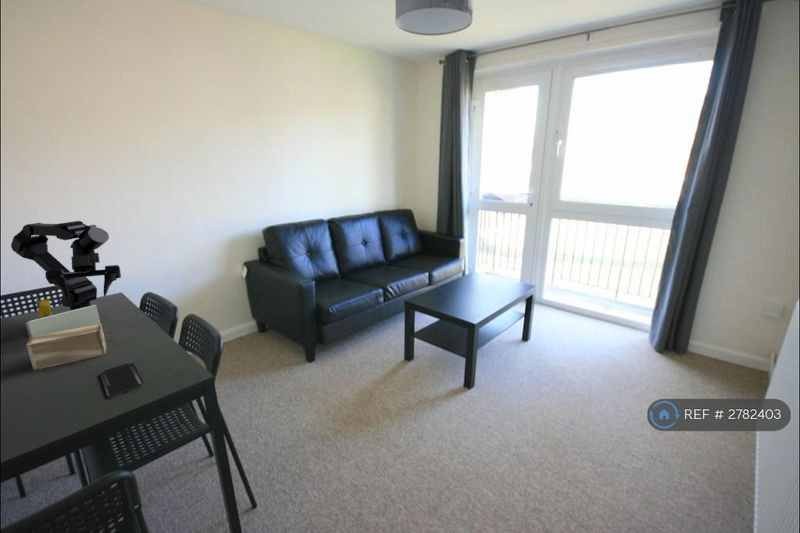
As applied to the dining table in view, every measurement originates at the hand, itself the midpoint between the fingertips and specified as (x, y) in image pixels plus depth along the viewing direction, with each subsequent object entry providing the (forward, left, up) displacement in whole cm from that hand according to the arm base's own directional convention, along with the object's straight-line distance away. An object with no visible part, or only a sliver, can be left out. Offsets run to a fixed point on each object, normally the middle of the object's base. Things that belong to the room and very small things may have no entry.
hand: (86, 297), depth 121 cm
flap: (+10, -2, -13) cm, 16 cm away
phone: (+31, +21, -14) cm, 40 cm away
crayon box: (-7, -17, -14) cm, 23 cm away
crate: (+15, +1, -13) cm, 20 cm away
